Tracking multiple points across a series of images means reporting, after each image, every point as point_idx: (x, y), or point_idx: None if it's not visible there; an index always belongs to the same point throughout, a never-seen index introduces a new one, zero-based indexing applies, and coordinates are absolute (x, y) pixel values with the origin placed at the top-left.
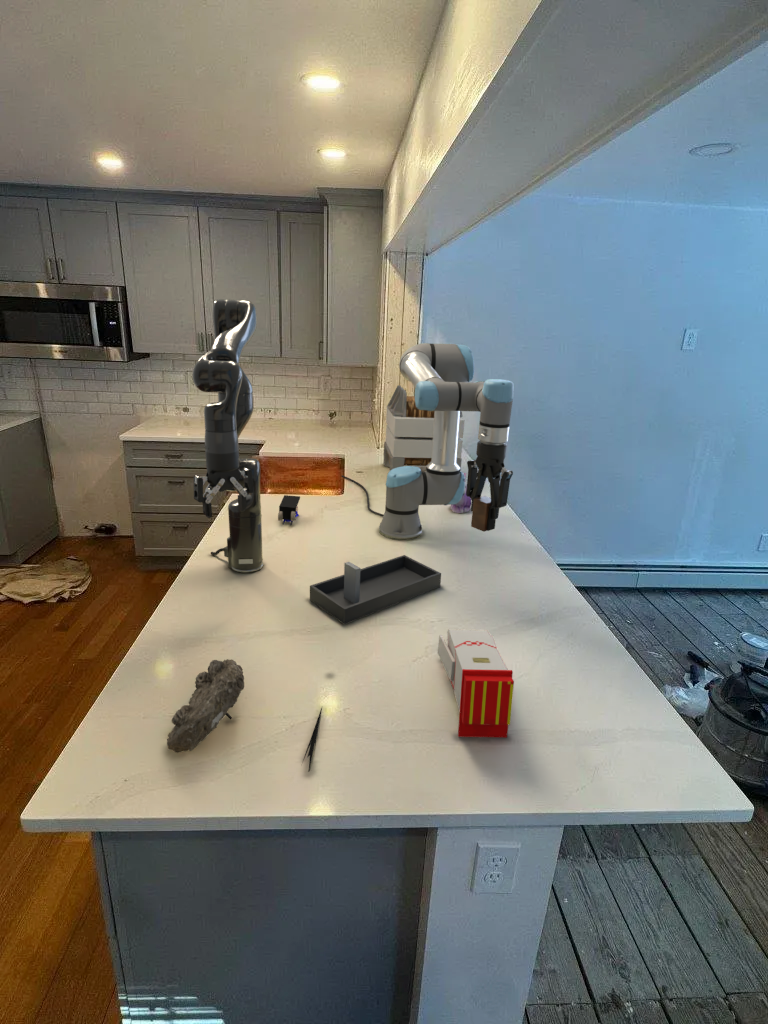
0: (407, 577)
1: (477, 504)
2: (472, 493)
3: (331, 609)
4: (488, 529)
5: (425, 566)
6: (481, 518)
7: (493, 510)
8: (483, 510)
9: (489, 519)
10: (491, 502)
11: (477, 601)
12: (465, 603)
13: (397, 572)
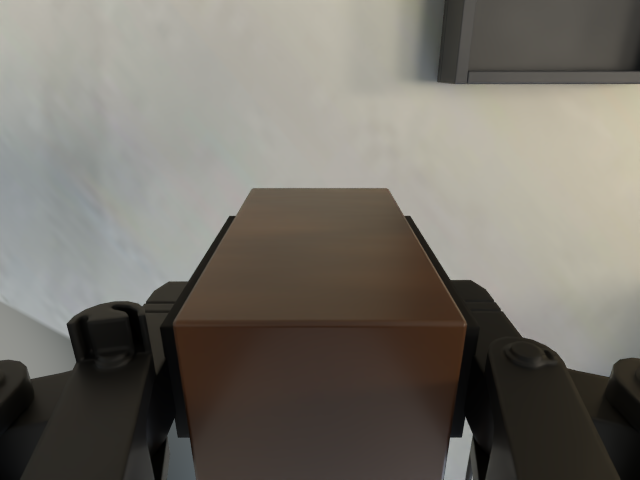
0: (574, 8)
1: (364, 283)
2: (584, 418)
3: None
4: (226, 222)
5: (546, 75)
6: (278, 220)
7: (154, 336)
8: (252, 262)
9: (204, 257)
10: (133, 389)
11: (276, 112)
12: (291, 62)
13: (635, 5)
